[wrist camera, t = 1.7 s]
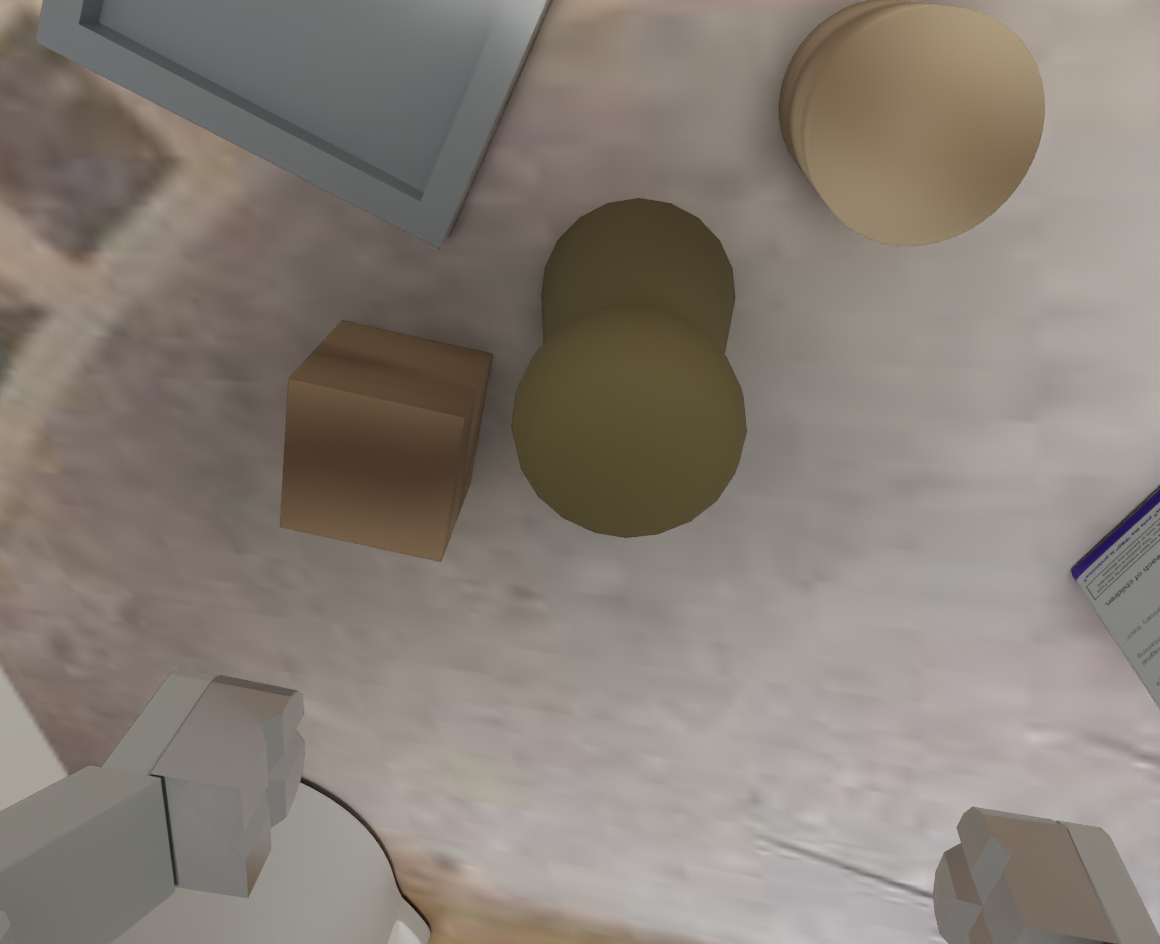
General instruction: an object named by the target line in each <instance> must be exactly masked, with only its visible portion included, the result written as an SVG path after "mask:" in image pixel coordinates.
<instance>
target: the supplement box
mask: <svg viewBox="0 0 1160 944" xmlns="http://www.w3.org/2000/svg"><path fill="white" fill-rule="evenodd" d="M1072 575H1073V577H1074V579H1075V581H1076V582H1077V584H1078V585H1079V587H1080V588H1081V590H1082V592H1083V593H1084V595H1085V596H1086V598H1087V599H1088V601H1089V602H1090V604H1091V605H1092V607H1093V608H1094V610H1095V612H1096V613H1097V615H1098V616H1099V618H1100V619H1101V621H1102V622H1103V624H1104V625H1105V627H1106V628H1107V630H1108V631H1109V633H1110V634H1111V636H1112V637H1113V639H1114V640H1115V642H1116V643H1117V645H1118V646H1119V648H1120V650H1121V651H1122V653H1123V654H1124V656H1125V657H1126V659H1127V660H1128V662H1129V663H1130V665H1131V666H1132V668H1133V669H1134V671H1135V672H1136V674H1137V675H1138V677H1139V678H1140V680H1141V681H1142V683H1143V684H1144V686H1145V687H1146V689H1147V690H1148V692H1149V693H1150V695H1151V697H1152V698H1153V700H1154V702H1155V703H1156V705H1157V706H1158V707H1159V709H1160V488H1159V489H1158V490H1157V491H1156V492H1154V493H1153V494H1152V495H1151V496H1150V497H1149V498H1148V499H1147V500H1146V501H1145V502H1144V503H1143V504H1142V505H1140V506H1139V508H1138V509H1137V510H1136V511H1135V512H1133V513H1132V514H1131V515H1130V516H1129V517H1128V518H1127V519H1126V520H1124V521H1123V523H1122V524H1121V525H1119V526H1118V527H1117V528H1116V529H1115V530H1114V531H1113V532H1111V533H1110V534H1109V535H1108V536H1107V537H1106V538H1105V539H1104V540H1103V541H1101V542H1100V543H1099V544H1098V545H1097V546H1096V547H1095V548H1094V549H1093V550H1092V551H1091V552H1090V553H1089V554H1088V555H1087V556H1086V557H1084V558H1083V560H1082V561H1081V562H1080V563H1078V564H1077V565H1076V566H1075V567H1074V569H1073V571H1072Z"/></svg>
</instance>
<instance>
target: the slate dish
mask: <svg viewBox="0 0 1160 944" xmlns="http://www.w3.org/2000/svg"><path fill="white" fill-rule="evenodd" d="M551 3H552V0H43V3H42V9H41V14H40V19H39V25H38V30H37V36H36V41H35V42H37V43H39V44H40V45H42V46H44V47H46V48H48V49H50V50H52V51H54V52H56V53H58V54H60V55H62V56H64V57H66V58H68V59H70V60H72V61H74V62H76V63H78V64H79V65H81V66H83V67H85V68H87V69H89V70H91V71H93V72H95V73H97V74H99V75H101V76H103V77H105V78H107V79H109V80H111V81H113V82H115V83H117V84H118V85H120V86H122V87H124V88H126V89H128V90H130V91H132V92H134V93H136V94H138V95H140V96H142V97H144V98H146V99H148V100H150V101H152V102H154V103H156V104H157V105H159V106H161V107H163V108H165V109H167V110H169V111H171V112H173V113H175V114H177V115H179V116H181V117H183V118H185V119H187V120H189V121H191V122H193V123H194V124H196V125H198V126H200V127H202V128H204V129H206V130H208V131H210V132H212V133H214V134H216V135H218V136H220V137H222V138H224V139H226V140H228V141H230V142H232V143H233V144H235V145H237V146H239V147H241V148H243V149H245V150H247V151H249V152H251V153H253V154H255V155H257V156H259V157H261V158H263V159H265V160H267V161H269V162H271V163H272V164H274V165H276V166H278V167H280V168H282V169H284V170H286V171H288V172H290V173H292V174H294V175H296V176H298V177H300V178H302V179H304V180H306V181H308V182H310V183H311V184H313V185H315V186H317V187H319V188H321V189H323V190H325V191H327V192H329V193H331V194H333V195H335V196H337V197H339V198H341V199H343V200H345V201H347V202H349V203H350V204H352V205H354V206H356V207H358V208H360V209H362V210H364V211H366V212H368V213H370V214H372V215H374V216H376V217H378V218H380V219H382V220H384V221H386V222H387V223H389V224H391V225H393V226H395V227H397V228H399V229H401V230H403V231H405V232H407V233H409V234H411V235H413V236H415V237H417V238H419V239H421V240H423V241H425V242H426V243H428V244H430V245H432V246H434V247H436V248H438V249H439V248H440V247H441V246H442V245H443V243H444V242H445V241H446V240H447V238H448V237H449V236H450V234H451V232H452V230H453V227H454V225H455V223H456V220H457V218H458V216H459V214H460V211H461V209H462V207H463V204H464V202H465V200H466V197H467V195H468V193H469V191H470V188H471V186H472V184H473V181H474V179H475V177H476V175H477V172H478V170H479V168H480V165H481V163H482V161H483V159H484V156H485V154H486V152H487V149H488V147H489V145H490V143H491V140H492V138H493V136H494V133H495V131H496V129H497V126H498V124H499V122H500V120H501V117H502V115H503V113H504V110H505V108H506V106H507V104H508V101H509V99H510V97H511V94H512V92H513V90H514V88H515V85H516V83H517V81H518V78H519V76H520V74H521V71H522V69H523V67H524V65H525V62H526V60H527V58H528V55H529V53H530V51H531V49H532V46H533V44H534V42H535V39H536V37H537V35H538V33H539V30H540V28H541V26H542V23H543V21H544V19H545V17H546V14H547V12H548V10H549V7H550V5H551Z"/></svg>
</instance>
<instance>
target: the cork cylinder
mask: <svg viewBox="0 0 1160 944" xmlns="http://www.w3.org/2000/svg"><path fill="white" fill-rule="evenodd" d="M1044 115H1045V100H1044V91H1043V84H1042V80H1041V76H1040V73H1039V70H1038V67H1037V65H1036V63H1035V61H1034V59H1033V57H1032V54H1031V53H1030V51H1029V50H1028V48H1027V47H1026V45H1025V44H1024V43H1023V41H1022V40H1021V39H1020V38H1019V37H1018V36H1017V35H1016V34H1015V33H1014V32H1013V31H1012V30H1011V29H1010V28H1008V27H1007V26H1006V25H1004V24H1003V23H1002V22H1000V21H999V20H997V19H995V18H993V17H991V16H989V15H987V14H984V13H981V12H978V11H975V10H972V9H966V8H960V7H953V6H944V5H935V4H926V3H917V2H908V1H899V0H872V1H866V2H862V3H858V4H855V5H852V6H850V7H847V8H845V9H843V10H841V11H839V12H837V13H835V14H834V15H832V16H830V17H829V18H828V19H826V20H825V21H824V22H822V23H821V24H820V25H819V26H817V27H816V28H815V29H814V30H813V31H812V32H811V33H810V34H809V35H808V37H807V38H806V39H805V40H804V41H803V43H802V44H801V45H800V47H799V48H798V50H797V51H796V53H795V54H794V56H793V58H792V60H791V62H790V64H789V66H788V68H787V71H786V74H785V77H784V79H783V84H782V88H781V92H780V101H779V119H780V125H781V131H782V134H783V138H784V141H785V143H786V146H787V148H788V150H789V152H790V154H791V155H792V157H793V159H794V160H795V162H796V163H797V164H798V166H799V167H800V169H801V170H802V171H803V173H804V174H805V176H806V177H807V178H808V180H809V181H810V183H811V184H812V185H813V187H814V188H815V190H816V191H817V192H818V194H819V195H820V197H821V198H822V199H823V201H824V202H825V203H826V205H827V206H828V208H829V209H830V210H831V211H832V212H833V214H834V215H835V216H836V217H837V218H838V219H839V220H840V221H841V222H842V223H844V224H845V225H846V226H847V227H849V228H850V229H852V230H853V231H855V232H856V233H858V234H860V235H862V236H864V237H866V238H868V239H870V240H874V241H877V242H880V243H883V244H889V245H895V246H919V245H928V244H932V243H937V242H941V241H944V240H947V239H950V238H953V237H955V236H958V235H960V234H962V233H964V232H966V231H968V230H970V229H971V228H973V227H975V226H976V225H978V224H979V223H981V222H983V221H984V220H985V219H986V218H988V217H989V216H990V215H992V214H993V213H994V212H995V211H996V210H997V209H998V208H999V207H1000V206H1001V205H1002V204H1003V203H1005V202H1006V201H1007V199H1008V198H1009V197H1010V196H1011V195H1012V193H1013V192H1014V191H1015V190H1016V188H1017V187H1018V186H1019V184H1020V183H1021V181H1022V180H1023V178H1024V176H1025V175H1026V173H1027V171H1028V169H1029V167H1030V165H1031V163H1032V161H1033V159H1034V157H1035V154H1036V151H1037V149H1038V146H1039V143H1040V139H1041V134H1042V130H1043V124H1044Z"/></svg>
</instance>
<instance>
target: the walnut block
mask: <svg viewBox="0 0 1160 944" xmlns="http://www.w3.org/2000/svg"><path fill="white" fill-rule="evenodd" d="M492 355H493V354H490V353H485V352H481V351H476V350H472V349H468V348H463V347H459V346H454V345H450V344H445V343H441V342H436V341H432V340H427V339H423V338H419V337H414V336H410V335H405V334H401V333H396V332H392V331H387V330H383V329H379V328H374V327H370V326H365V325H361V324H356V323H352V322H347V321H343V320H342V321H341V322H340V323H339V324H338V325H337V326H336V328H335V329H334V330H333V331H332V332H331V333H330V334H329V335H328V336H327V337H326V338H325V340H324V341H323V342H322V343H321V344H320V345H319V346H318V347H317V348H316V349H315V350H314V351H313V353H312V354H311V355H310V356H309V357H308V358H307V359H306V360H305V361H304V362H303V363H302V365H301V366H300V367H299V368H298V369H297V370H296V371H295V372H294V373H293V374H292V375H291V377H290V378H289V379H288V395H287V413H286V430H285V448H284V466H283V483H282V501H281V518H280V527H282V528H287V529H291V530H296V531H301V532H305V533H310V534H315V535H319V536H324V537H328V538H333V539H338V540H342V541H347V542H352V543H356V544H361V545H365V546H370V547H375V548H379V549H384V550H389V551H393V552H398V553H402V554H407V555H412V556H416V557H421V558H426V559H430V560H435V561H440V562H441V561H442V558H443V556H444V553H445V550H446V548H447V545H448V542H449V540H450V537H451V534H452V532H453V529H454V526H455V523H456V521H457V518H458V515H459V513H460V510H461V507H462V505H463V502H464V499H465V497H466V494H467V491H468V488H469V486H470V482H471V477H472V471H473V465H474V459H475V453H476V448H477V442H478V436H479V430H480V424H481V419H482V413H483V407H484V401H485V396H486V390H487V384H488V378H489V372H490V367H491V361H492Z"/></svg>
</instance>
